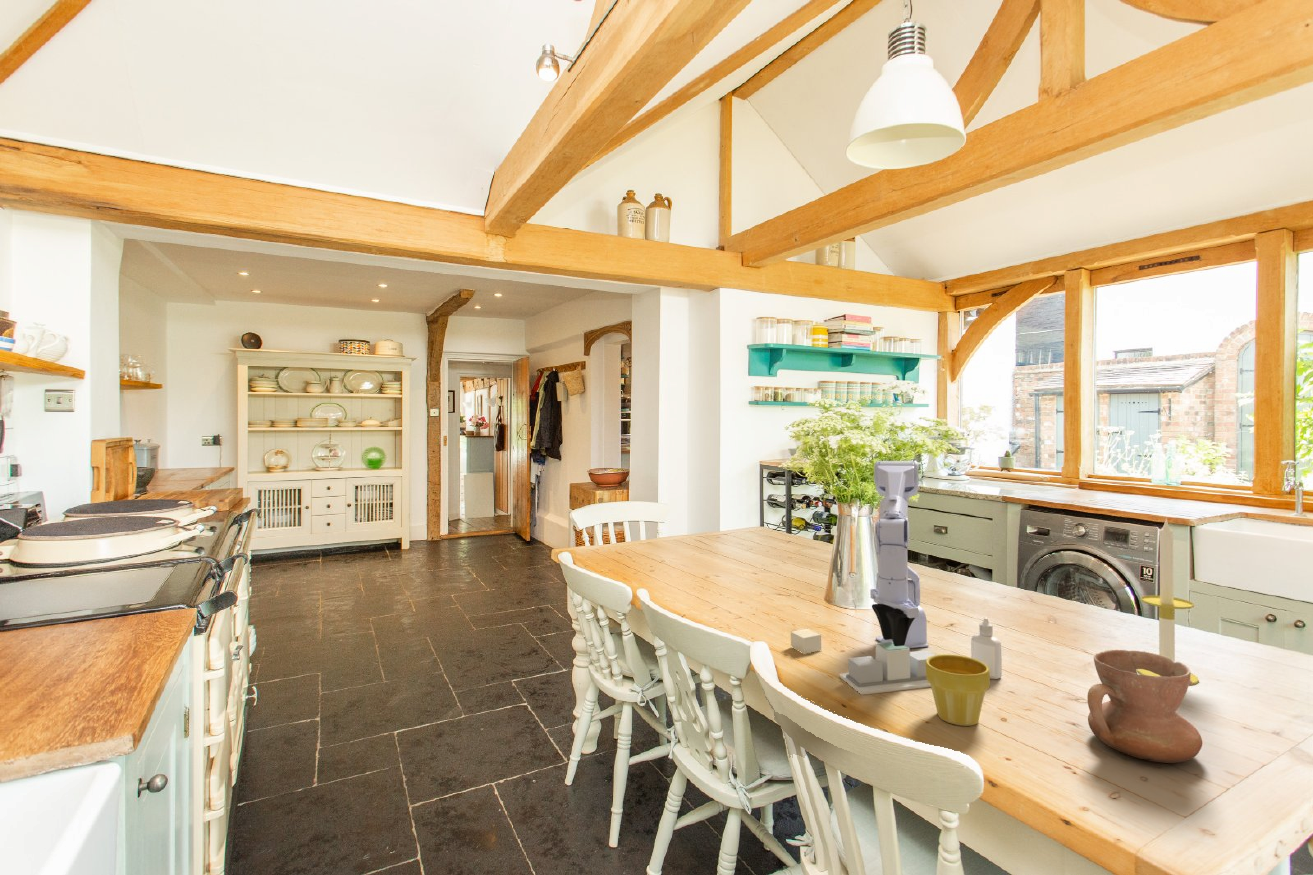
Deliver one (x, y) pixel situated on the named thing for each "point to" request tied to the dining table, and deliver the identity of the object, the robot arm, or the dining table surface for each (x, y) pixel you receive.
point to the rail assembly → (870, 678)
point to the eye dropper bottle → (987, 649)
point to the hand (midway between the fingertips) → (893, 642)
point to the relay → (806, 640)
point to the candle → (1166, 601)
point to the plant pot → (958, 687)
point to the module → (893, 660)
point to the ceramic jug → (1142, 706)
